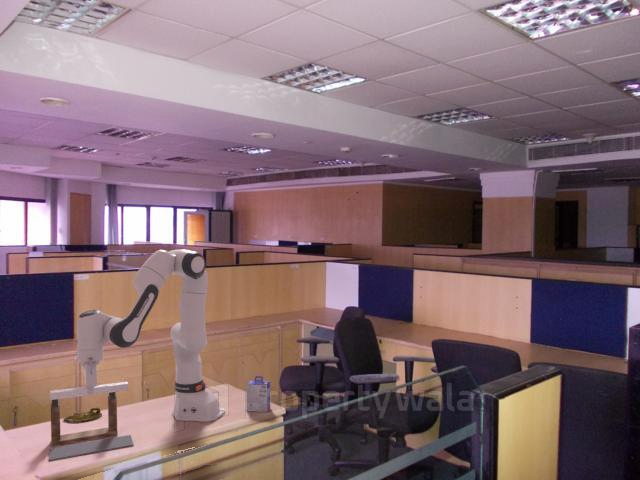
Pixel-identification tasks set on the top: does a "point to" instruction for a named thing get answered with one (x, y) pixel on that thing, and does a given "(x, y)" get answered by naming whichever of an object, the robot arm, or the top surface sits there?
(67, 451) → the mat
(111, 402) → the hook stand
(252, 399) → the ink cartridge box
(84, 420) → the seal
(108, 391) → the rail
